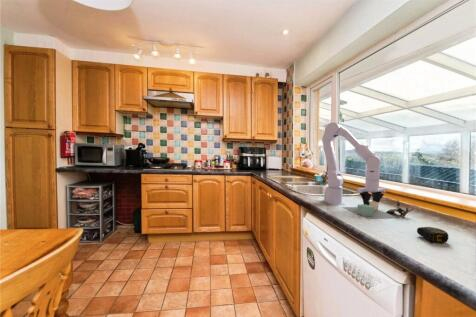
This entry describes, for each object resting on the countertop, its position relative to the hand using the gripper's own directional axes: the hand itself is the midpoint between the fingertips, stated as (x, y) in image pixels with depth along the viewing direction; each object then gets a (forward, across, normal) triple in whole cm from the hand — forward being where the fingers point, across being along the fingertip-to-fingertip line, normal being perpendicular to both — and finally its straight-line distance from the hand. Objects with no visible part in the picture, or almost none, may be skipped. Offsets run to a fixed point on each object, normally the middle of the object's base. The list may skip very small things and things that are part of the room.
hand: (370, 206), depth 107 cm
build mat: (+2, -5, -5) cm, 7 cm away
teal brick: (+1, -10, -8) cm, 13 cm away
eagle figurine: (+2, +6, -9) cm, 11 cm away
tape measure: (+2, -8, -35) cm, 36 cm away
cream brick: (+1, 0, 0) cm, 1 cm away
